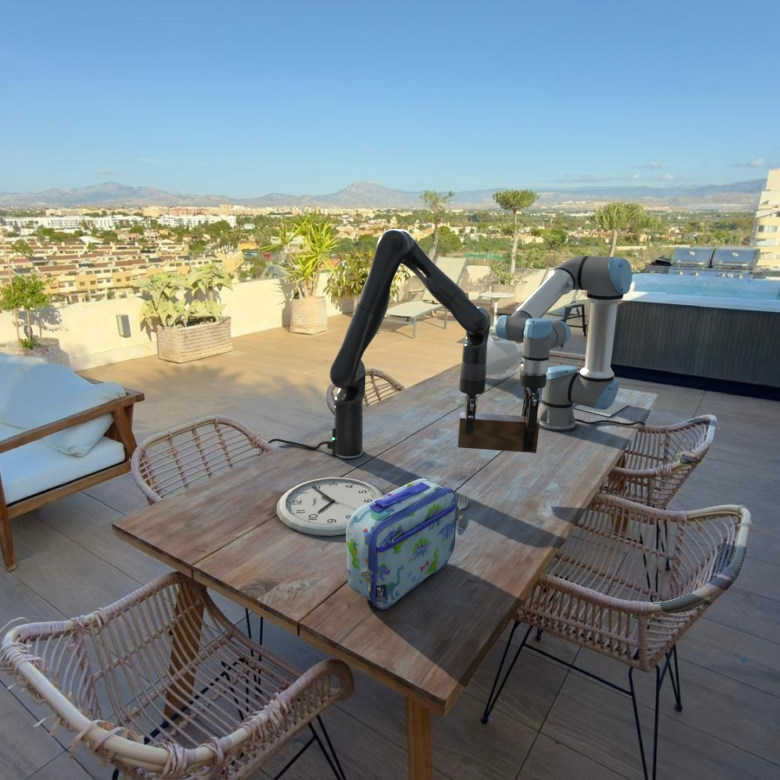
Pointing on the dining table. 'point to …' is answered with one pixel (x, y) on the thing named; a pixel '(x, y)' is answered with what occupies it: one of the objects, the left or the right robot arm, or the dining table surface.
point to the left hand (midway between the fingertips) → (468, 429)
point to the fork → (461, 506)
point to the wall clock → (324, 504)
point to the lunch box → (400, 540)
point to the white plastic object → (502, 355)
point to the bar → (495, 432)
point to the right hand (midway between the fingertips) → (526, 446)
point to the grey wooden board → (608, 412)
